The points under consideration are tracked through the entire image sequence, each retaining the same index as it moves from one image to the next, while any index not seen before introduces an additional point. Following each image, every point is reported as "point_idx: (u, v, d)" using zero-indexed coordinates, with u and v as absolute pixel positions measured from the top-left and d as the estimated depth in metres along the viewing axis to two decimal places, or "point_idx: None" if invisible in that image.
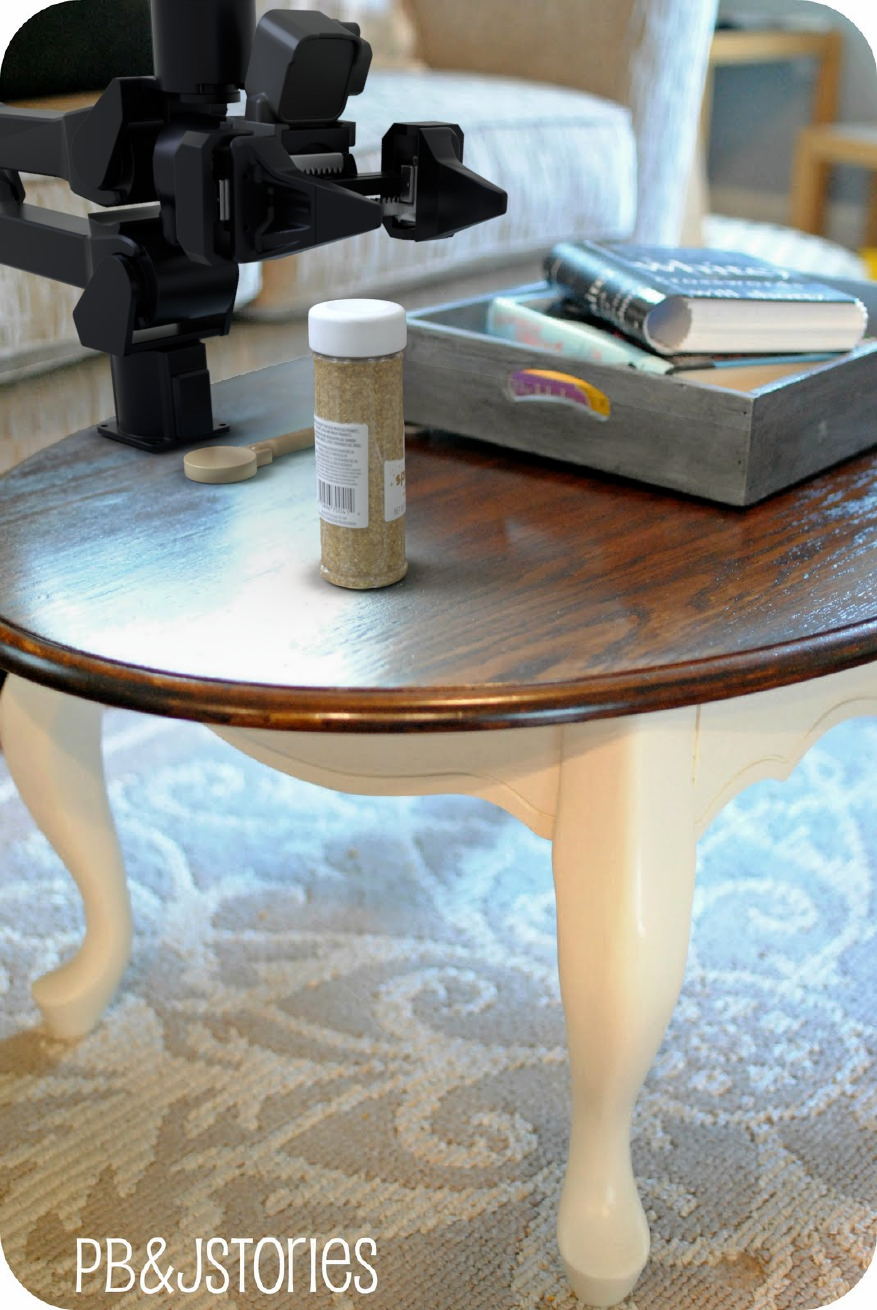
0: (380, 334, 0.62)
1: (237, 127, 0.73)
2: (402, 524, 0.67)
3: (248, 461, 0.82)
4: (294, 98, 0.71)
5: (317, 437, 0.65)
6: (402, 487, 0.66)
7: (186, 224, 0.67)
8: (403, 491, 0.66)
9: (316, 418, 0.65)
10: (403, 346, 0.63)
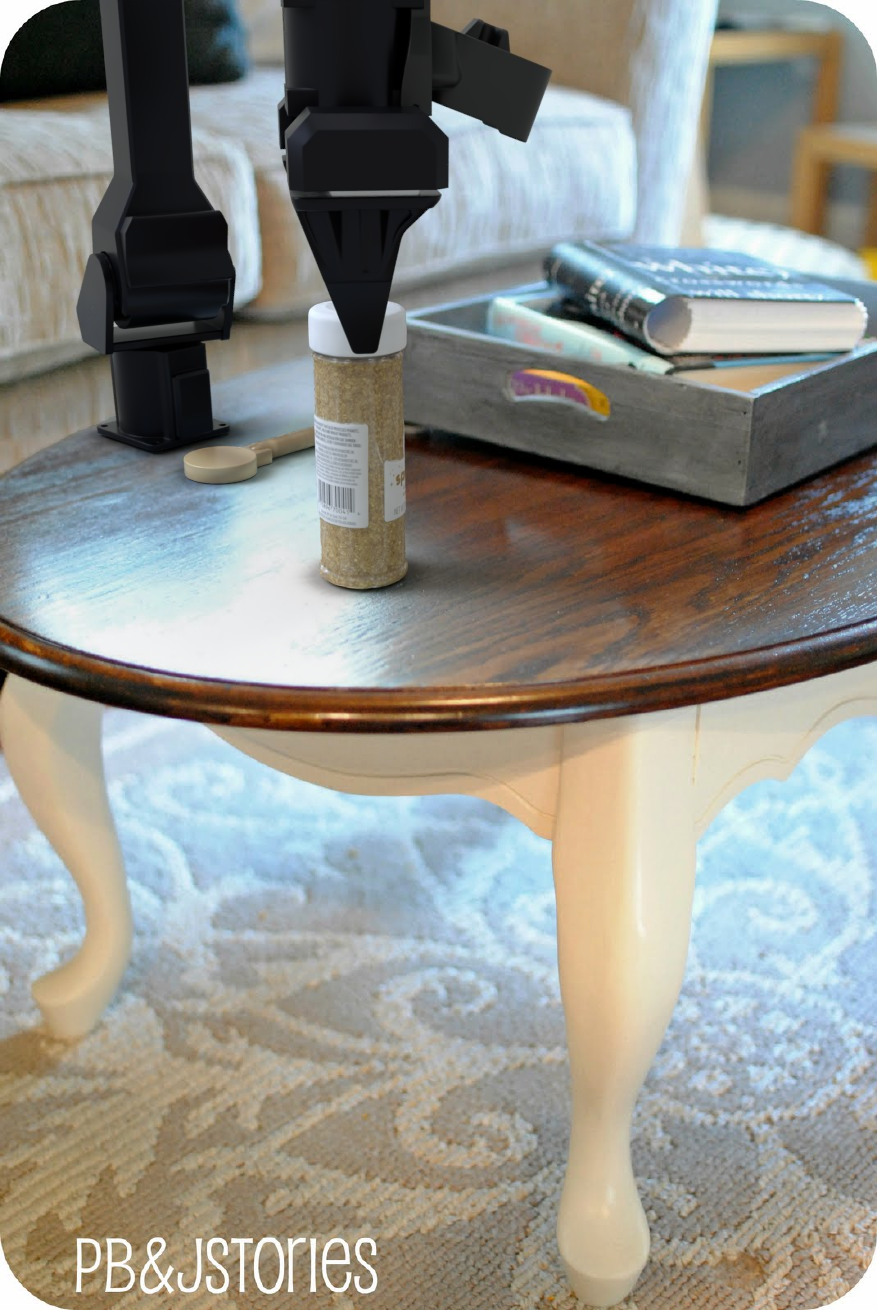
0: None
1: (420, 24, 0.56)
2: (402, 524, 0.67)
3: (248, 461, 0.82)
4: None
5: (317, 437, 0.65)
6: (402, 487, 0.66)
7: (337, 152, 0.51)
8: (403, 491, 0.66)
9: (316, 418, 0.65)
10: (403, 346, 0.63)
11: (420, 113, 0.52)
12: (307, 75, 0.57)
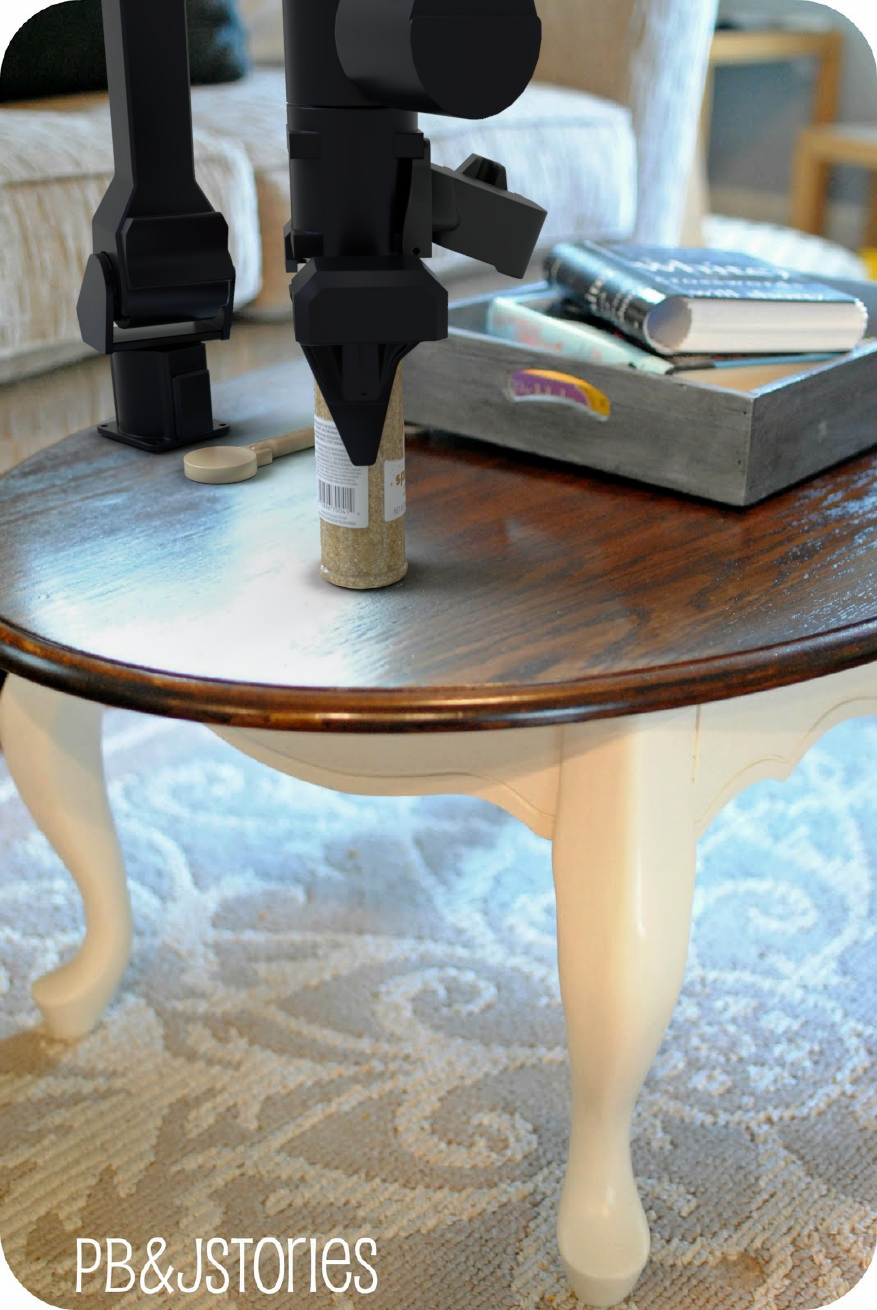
0: None
1: (420, 172, 0.58)
2: (402, 524, 0.67)
3: (248, 461, 0.82)
4: None
5: (317, 437, 0.65)
6: (402, 487, 0.66)
7: (341, 308, 0.54)
8: (403, 491, 0.66)
9: (316, 418, 0.65)
10: None
11: (421, 270, 0.54)
12: (312, 220, 0.59)
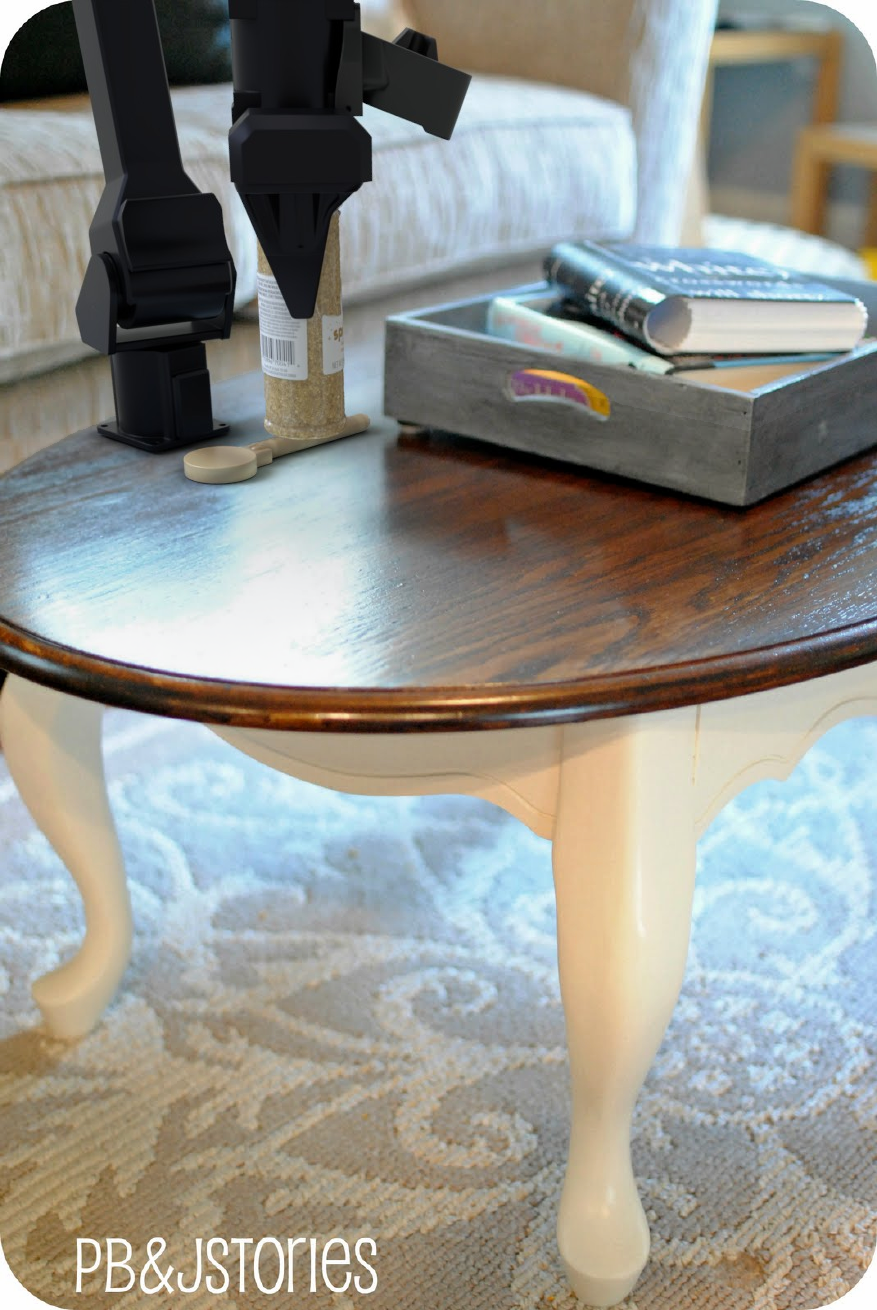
0: None
1: (351, 34, 0.63)
2: (340, 379, 0.72)
3: (248, 461, 0.82)
4: None
5: (259, 293, 0.69)
6: (340, 343, 0.71)
7: (272, 149, 0.58)
8: (341, 347, 0.71)
9: (258, 275, 0.69)
10: None
11: (346, 115, 0.58)
12: (251, 79, 0.64)
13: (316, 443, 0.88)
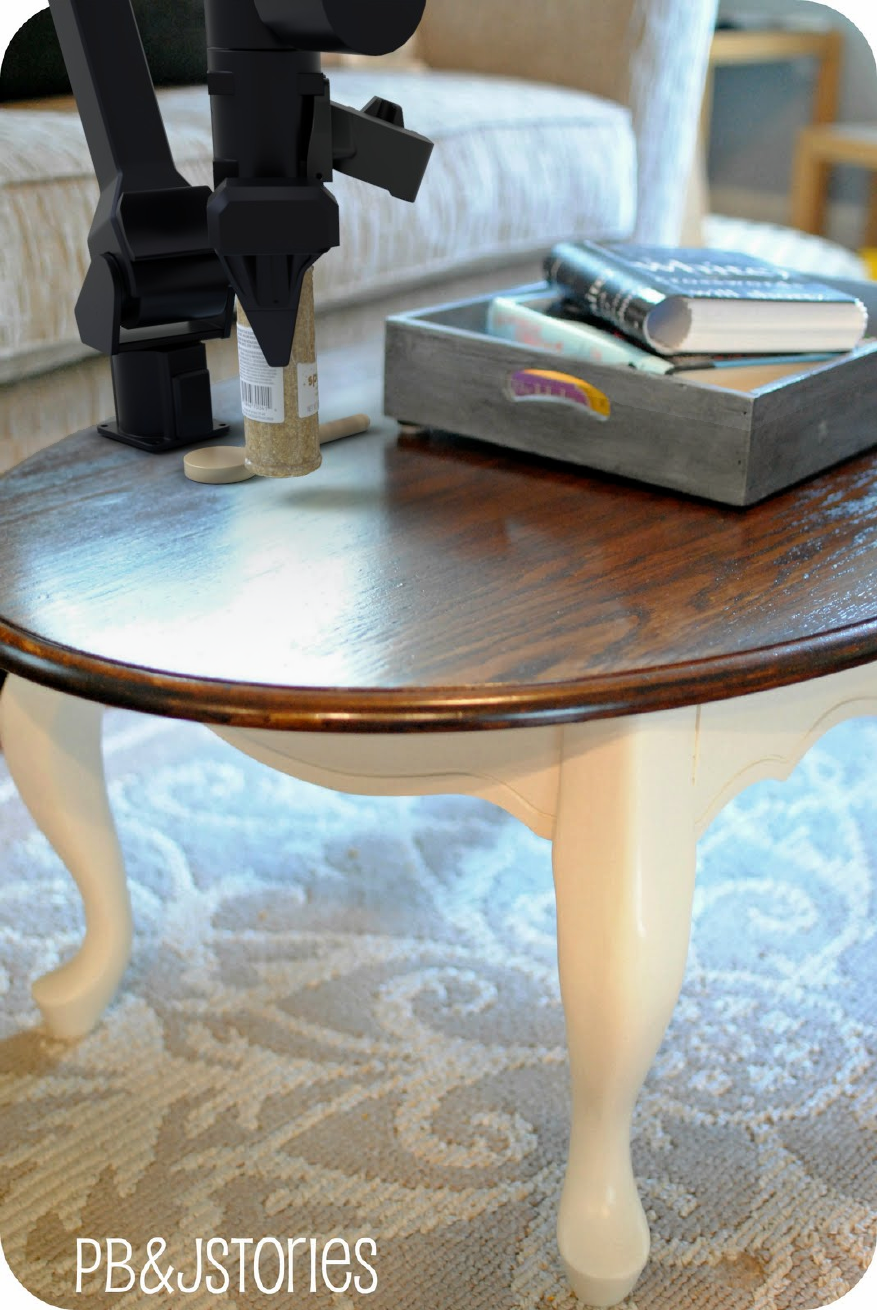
0: None
1: (321, 107, 0.68)
2: (315, 421, 0.77)
3: None
4: None
5: (239, 343, 0.75)
6: (314, 388, 0.76)
7: (247, 218, 0.63)
8: (315, 392, 0.76)
9: (238, 326, 0.74)
10: None
11: (315, 186, 0.64)
12: (229, 148, 0.69)
13: None
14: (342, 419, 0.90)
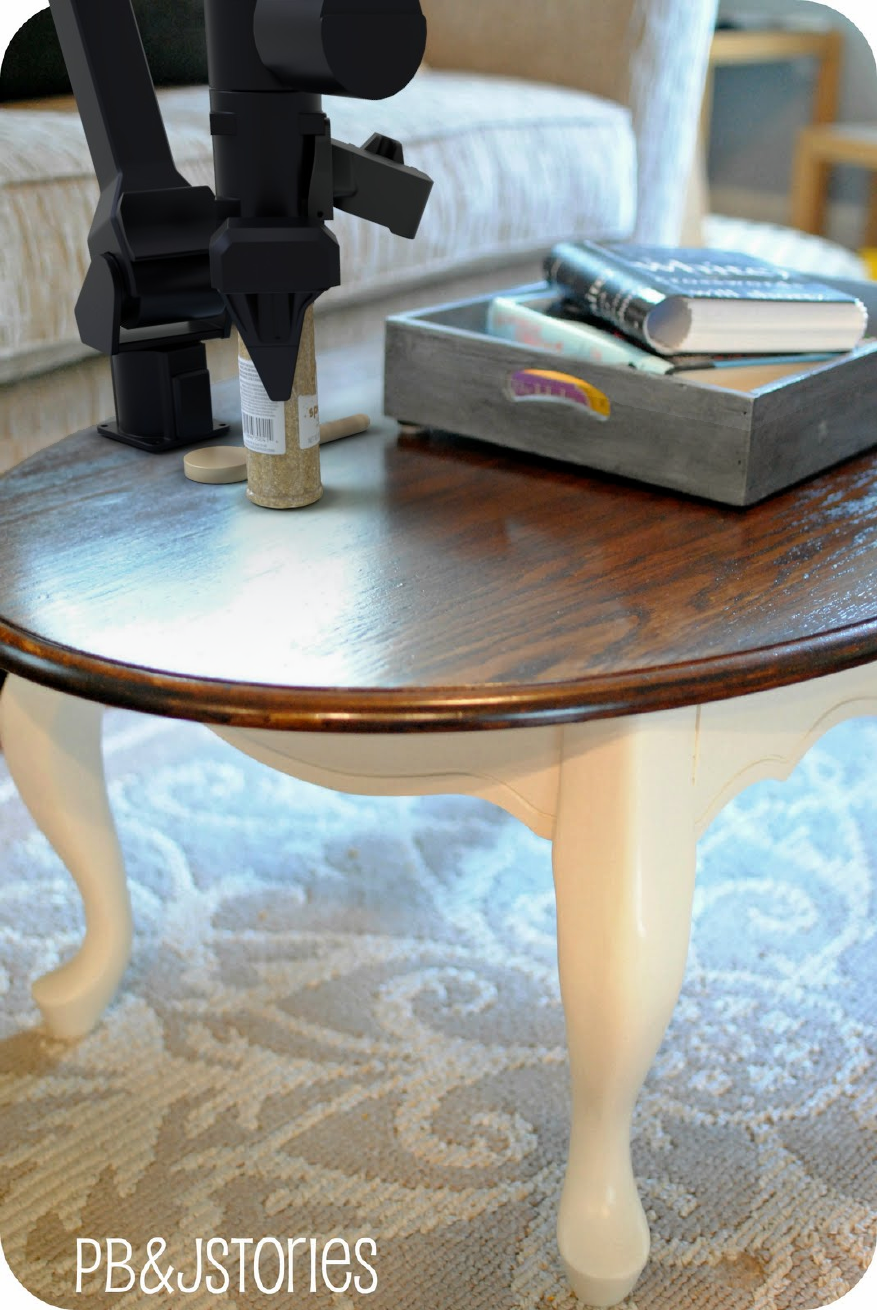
0: None
1: (322, 147, 0.69)
2: (316, 452, 0.77)
3: None
4: None
5: (240, 375, 0.75)
6: (315, 419, 0.77)
7: (249, 259, 0.64)
8: (316, 423, 0.77)
9: (239, 359, 0.75)
10: None
11: (316, 227, 0.65)
12: (231, 187, 0.70)
13: None
14: (342, 419, 0.90)
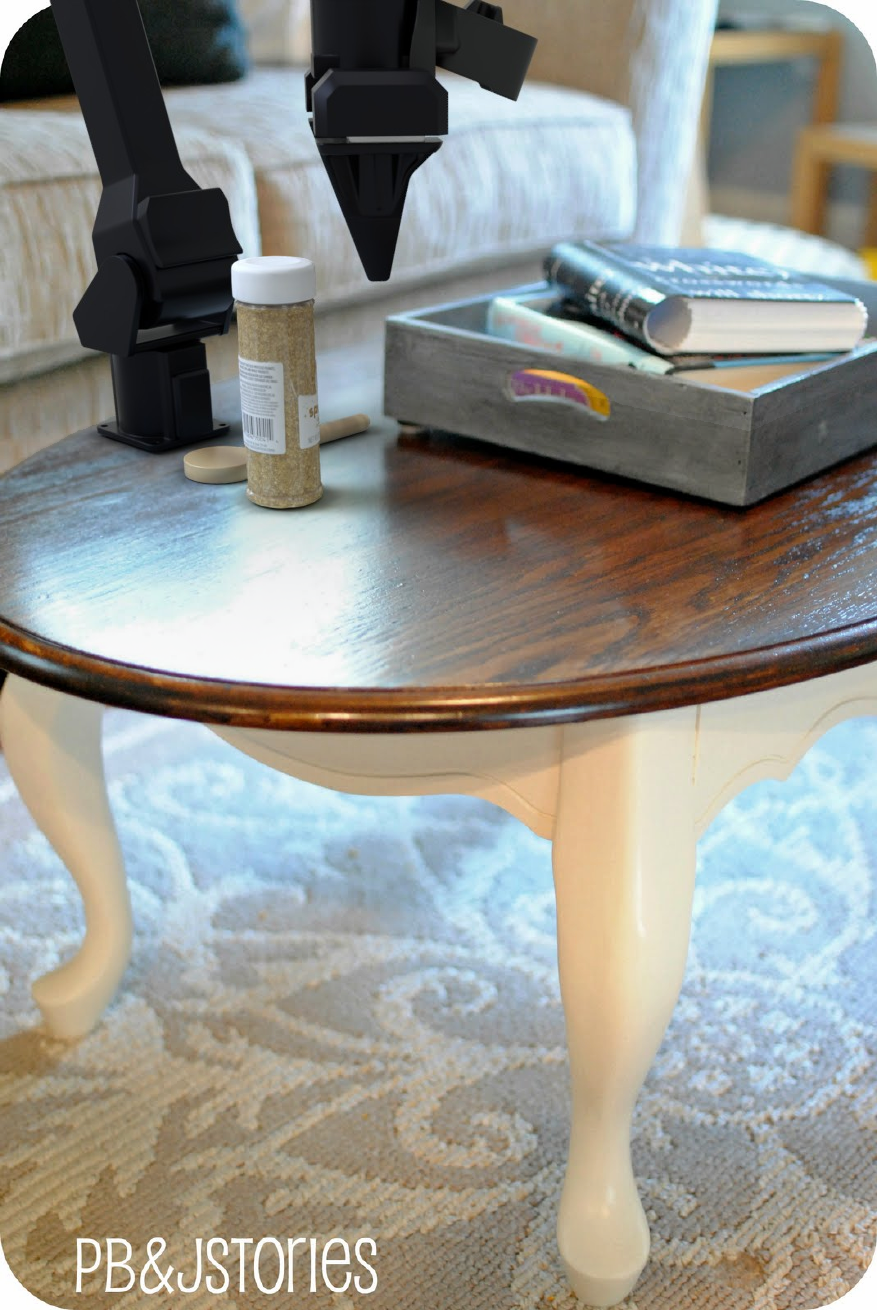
0: (291, 284, 0.72)
1: None
2: (316, 452, 0.77)
3: None
4: None
5: (241, 375, 0.75)
6: (315, 419, 0.77)
7: (355, 104, 0.62)
8: (316, 423, 0.77)
9: (239, 358, 0.75)
10: (313, 295, 0.74)
11: (424, 71, 0.62)
12: (330, 43, 0.67)
13: None
14: (342, 419, 0.90)
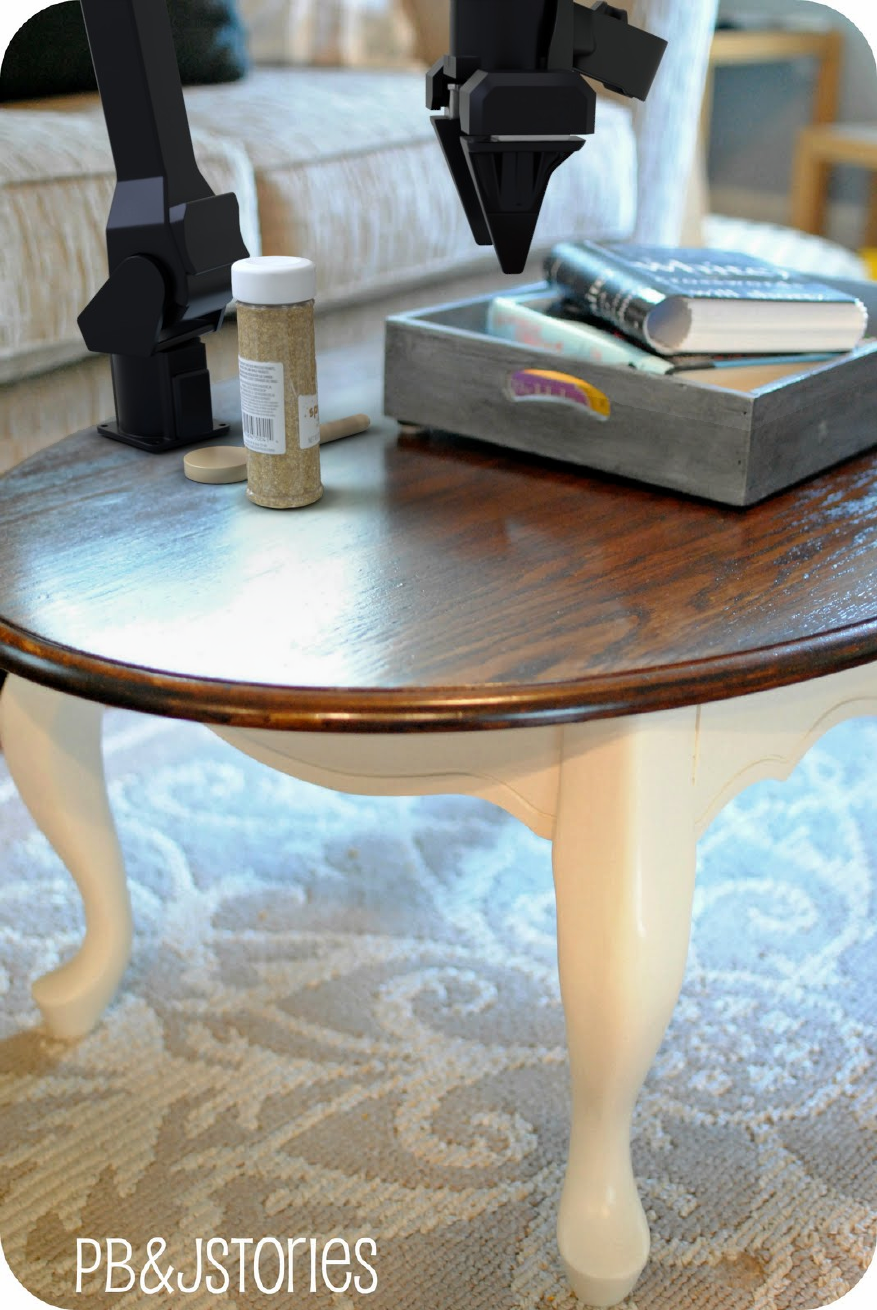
0: (291, 284, 0.72)
1: (564, 3, 0.69)
2: (316, 452, 0.77)
3: None
4: None
5: (241, 375, 0.75)
6: (315, 419, 0.77)
7: (509, 104, 0.65)
8: (316, 423, 0.77)
9: (239, 358, 0.75)
10: (313, 295, 0.74)
11: (575, 73, 0.65)
12: (471, 45, 0.70)
13: None
14: (342, 419, 0.90)
